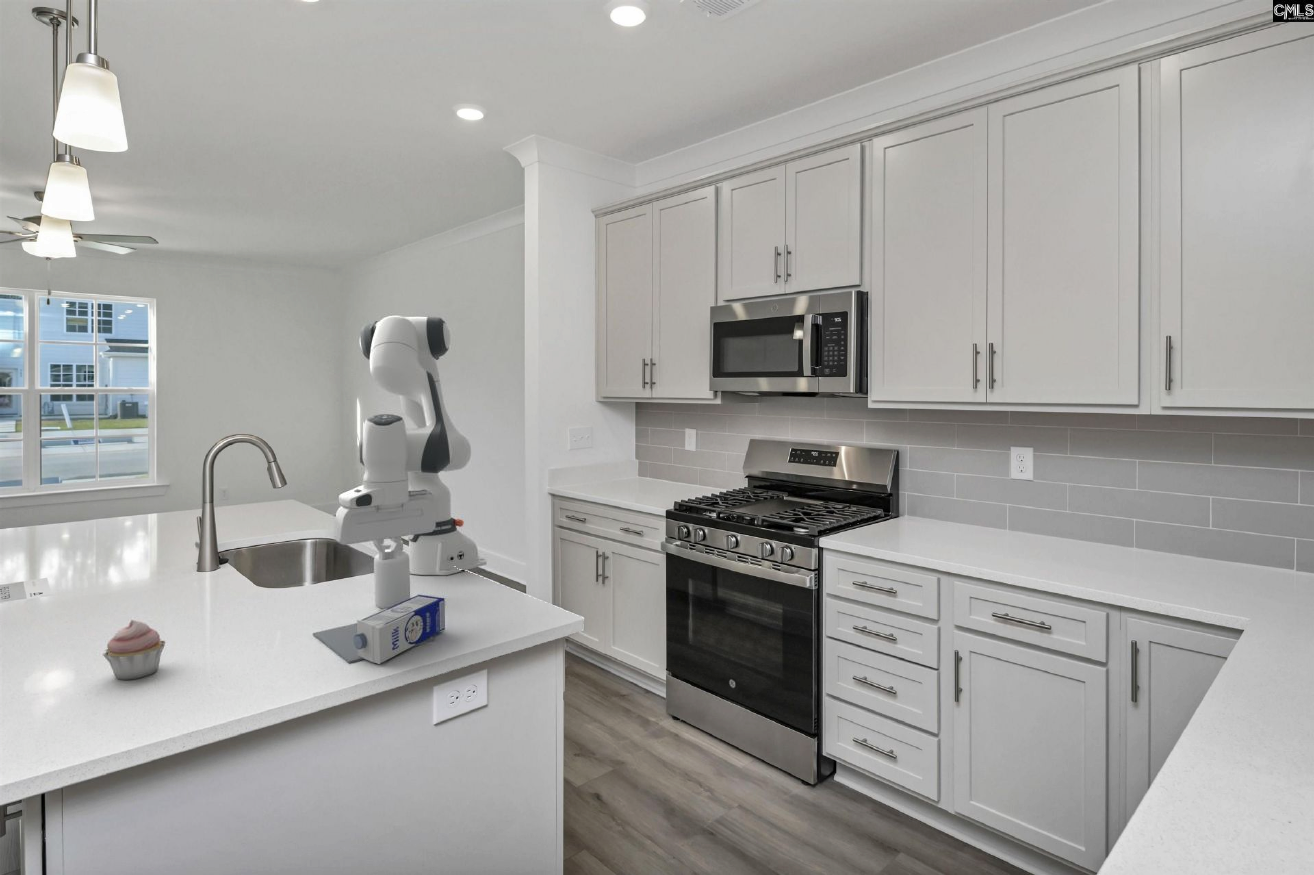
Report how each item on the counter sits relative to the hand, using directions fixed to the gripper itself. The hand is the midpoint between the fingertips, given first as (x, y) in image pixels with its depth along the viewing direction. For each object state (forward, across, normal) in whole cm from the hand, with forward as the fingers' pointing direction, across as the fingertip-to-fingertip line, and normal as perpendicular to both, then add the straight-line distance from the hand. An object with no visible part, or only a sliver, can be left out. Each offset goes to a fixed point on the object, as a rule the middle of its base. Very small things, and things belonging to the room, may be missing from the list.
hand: (387, 559), depth 149 cm
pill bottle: (+16, -9, -19) cm, 27 cm away
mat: (+16, +4, 0) cm, 16 cm away
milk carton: (+12, -8, +3) cm, 15 cm away
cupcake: (+16, +42, -11) cm, 46 cm away
